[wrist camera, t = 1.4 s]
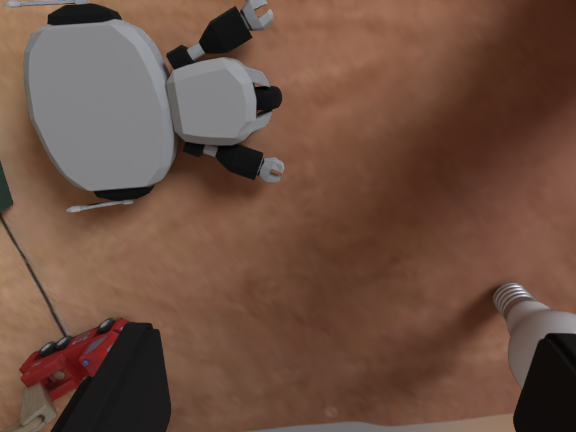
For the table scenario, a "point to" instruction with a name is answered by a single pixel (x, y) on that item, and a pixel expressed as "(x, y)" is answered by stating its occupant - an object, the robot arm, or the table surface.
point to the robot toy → (142, 99)
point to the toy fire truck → (61, 372)
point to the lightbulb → (527, 325)
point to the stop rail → (4, 192)
